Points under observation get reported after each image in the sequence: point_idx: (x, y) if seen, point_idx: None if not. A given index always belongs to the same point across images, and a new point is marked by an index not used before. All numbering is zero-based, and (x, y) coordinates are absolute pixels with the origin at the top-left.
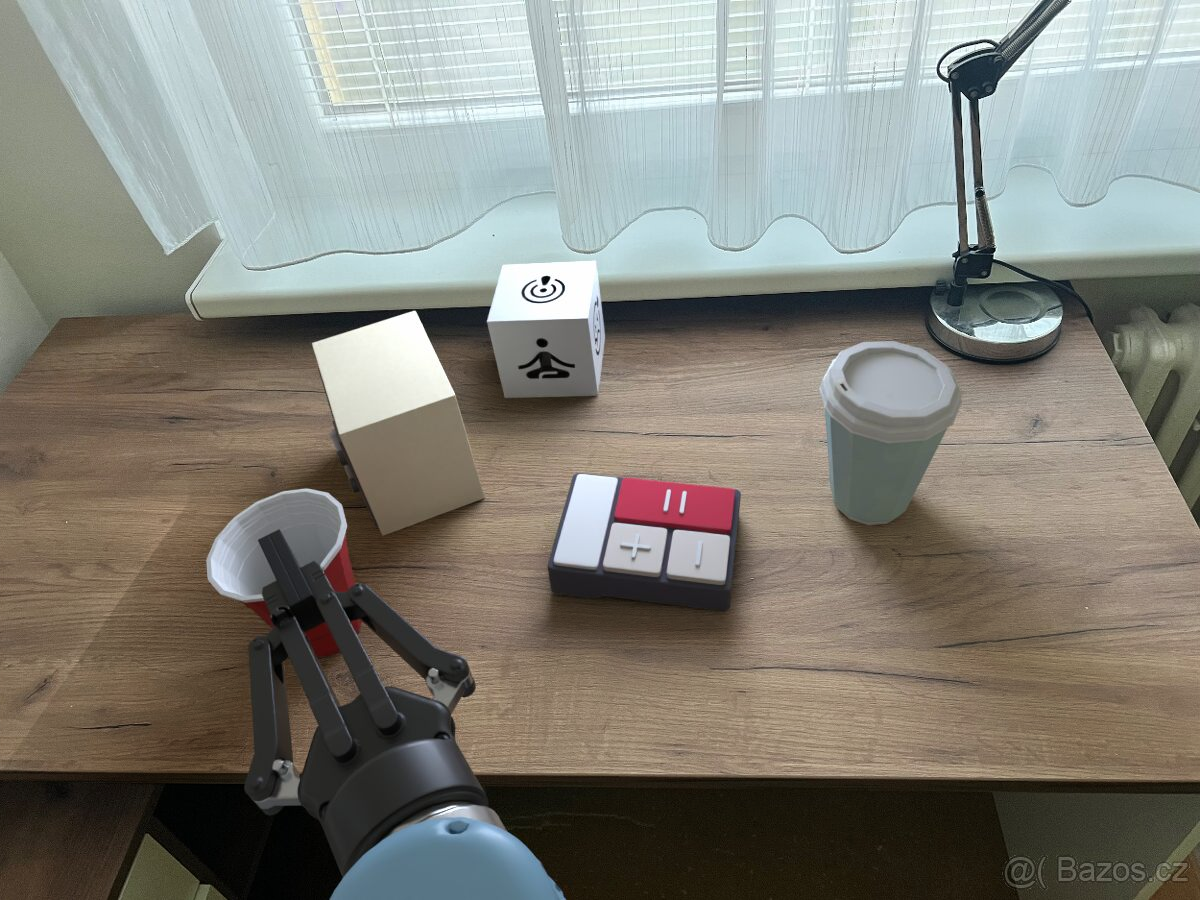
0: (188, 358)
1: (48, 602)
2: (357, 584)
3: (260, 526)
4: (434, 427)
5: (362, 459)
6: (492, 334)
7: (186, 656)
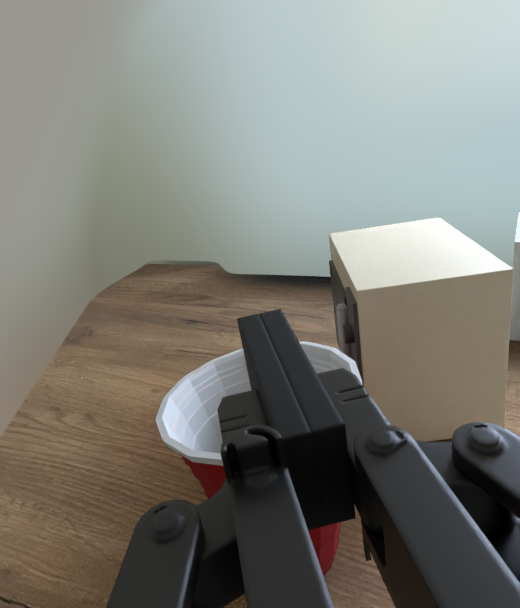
0: (215, 288)
1: (31, 438)
2: (481, 424)
3: (239, 380)
4: (473, 311)
5: (374, 334)
6: (516, 259)
7: (117, 532)
